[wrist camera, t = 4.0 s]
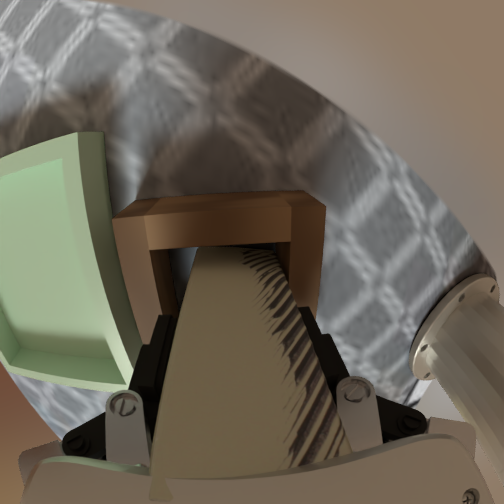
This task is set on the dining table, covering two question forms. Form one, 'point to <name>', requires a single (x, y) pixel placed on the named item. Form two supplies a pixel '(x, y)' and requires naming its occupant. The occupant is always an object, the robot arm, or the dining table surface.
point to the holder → (216, 242)
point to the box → (241, 378)
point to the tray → (63, 268)
